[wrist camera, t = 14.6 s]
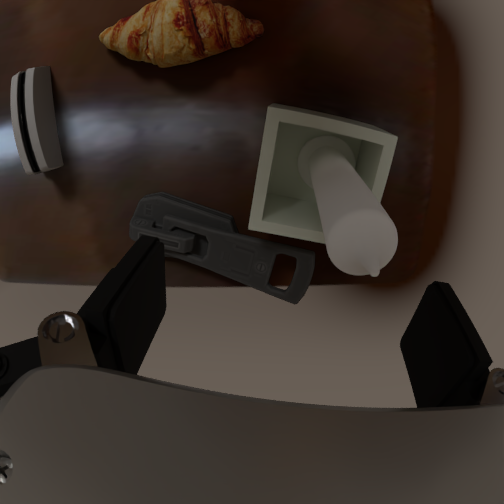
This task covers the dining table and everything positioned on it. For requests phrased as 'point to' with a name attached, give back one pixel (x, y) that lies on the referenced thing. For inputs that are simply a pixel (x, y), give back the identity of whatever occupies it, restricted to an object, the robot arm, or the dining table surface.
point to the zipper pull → (218, 244)
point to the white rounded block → (35, 120)
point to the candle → (347, 208)
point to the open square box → (287, 175)
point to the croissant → (180, 32)
